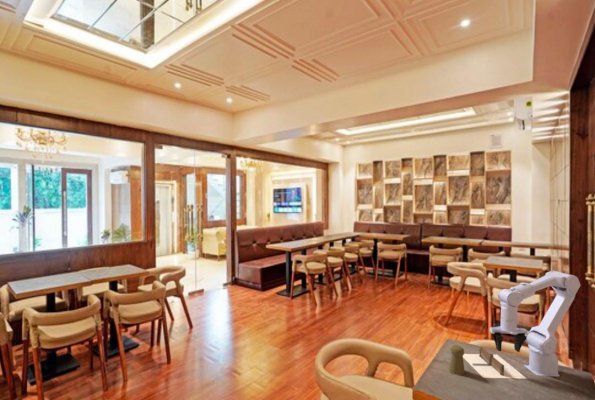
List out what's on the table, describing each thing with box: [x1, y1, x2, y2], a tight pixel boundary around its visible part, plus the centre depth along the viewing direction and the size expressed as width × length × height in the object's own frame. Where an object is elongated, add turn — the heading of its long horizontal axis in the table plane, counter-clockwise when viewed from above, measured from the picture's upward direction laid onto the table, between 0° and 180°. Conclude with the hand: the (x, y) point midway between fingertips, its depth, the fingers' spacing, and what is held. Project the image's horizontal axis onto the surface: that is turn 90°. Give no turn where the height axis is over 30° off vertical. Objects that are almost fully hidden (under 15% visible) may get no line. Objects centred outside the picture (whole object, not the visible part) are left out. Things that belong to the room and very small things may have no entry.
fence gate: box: [492, 357, 504, 375], centre depth 132 cm, size 1×7×4 cm, turn 179°
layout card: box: [463, 353, 527, 380], centre depth 137 cm, size 18×20×1 cm
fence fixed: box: [478, 346, 494, 366], centre depth 141 cm, size 2×9×4 cm, turn 179°
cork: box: [448, 344, 466, 376], centre depth 132 cm, size 6×6×11 cm
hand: (507, 350), depth 132 cm, fingers open, 7 cm apart
